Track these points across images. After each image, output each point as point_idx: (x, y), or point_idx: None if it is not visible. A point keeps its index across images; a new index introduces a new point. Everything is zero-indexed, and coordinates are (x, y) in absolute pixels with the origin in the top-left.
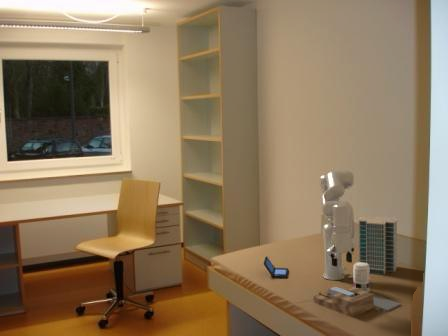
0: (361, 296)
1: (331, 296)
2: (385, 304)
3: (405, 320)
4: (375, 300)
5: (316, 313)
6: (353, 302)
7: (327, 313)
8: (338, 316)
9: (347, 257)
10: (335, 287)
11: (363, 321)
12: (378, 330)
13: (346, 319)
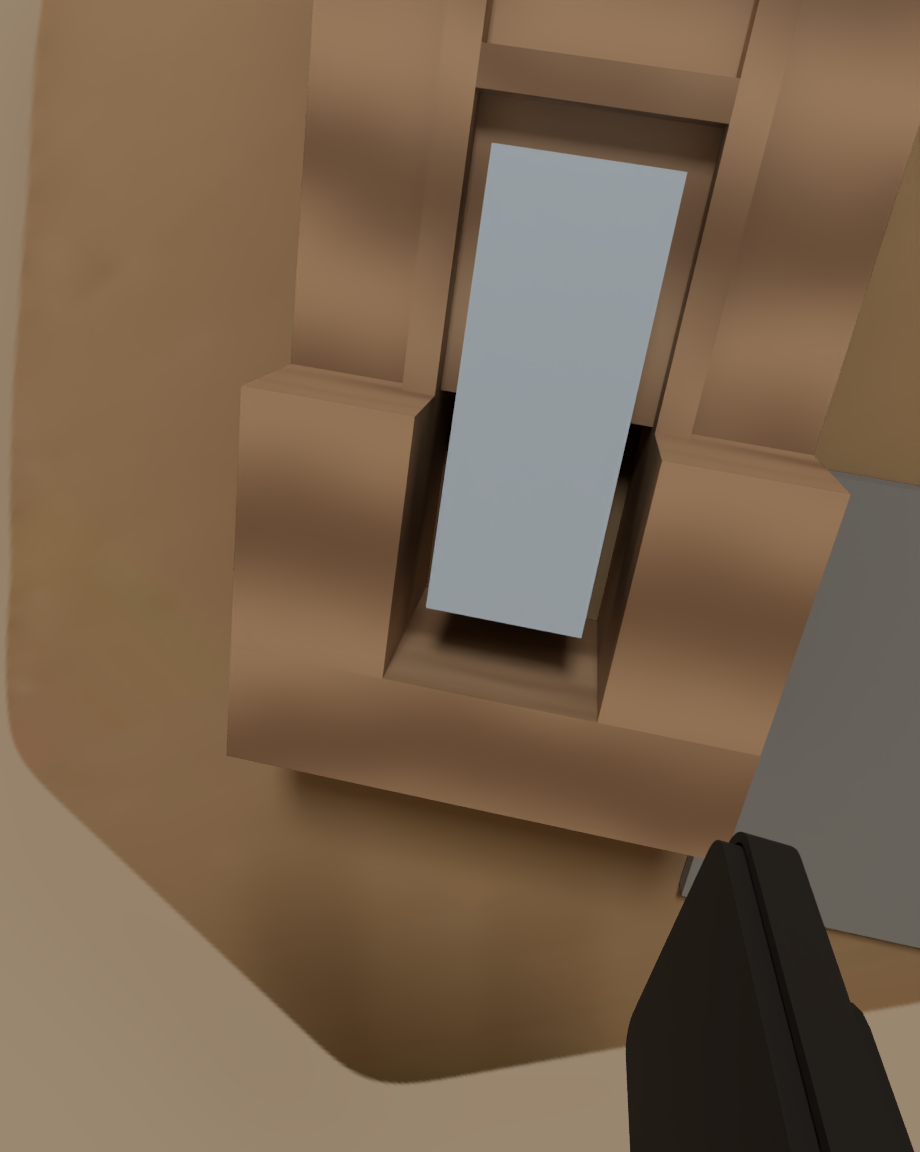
0: (514, 767)
1: (447, 236)
2: (840, 835)
3: (574, 1048)
4: (914, 701)
5: (67, 248)
6: (252, 759)
7: (172, 369)
8: (201, 523)
9: (722, 1089)
10: (640, 201)
11: (288, 779)
12: (223, 935)
13: (203, 629)
